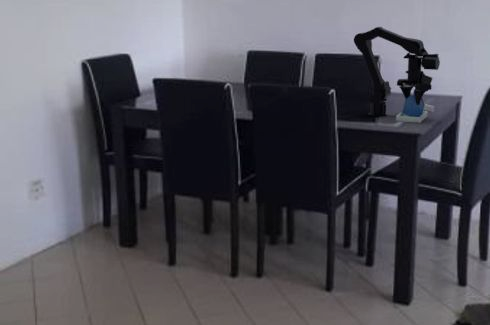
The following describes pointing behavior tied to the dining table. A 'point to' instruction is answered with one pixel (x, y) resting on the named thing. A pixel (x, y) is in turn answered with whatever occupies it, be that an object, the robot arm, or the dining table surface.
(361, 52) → the robot arm
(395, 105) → the dining table surface
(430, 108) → the bay
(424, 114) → the tray
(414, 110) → the perfume bottle
